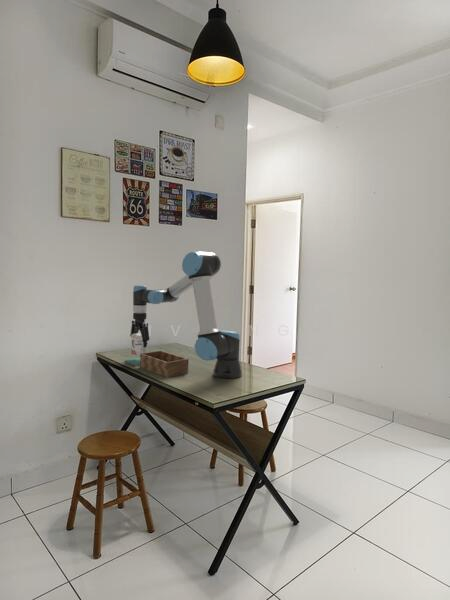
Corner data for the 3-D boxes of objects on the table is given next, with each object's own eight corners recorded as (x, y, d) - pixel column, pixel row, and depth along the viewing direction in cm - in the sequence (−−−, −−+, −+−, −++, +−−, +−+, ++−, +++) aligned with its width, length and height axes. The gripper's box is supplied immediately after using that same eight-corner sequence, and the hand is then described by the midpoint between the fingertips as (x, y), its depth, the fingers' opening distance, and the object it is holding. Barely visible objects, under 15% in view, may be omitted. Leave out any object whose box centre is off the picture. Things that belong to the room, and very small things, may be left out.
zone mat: (154, 362, 241) (154, 360, 241) (135, 365, 233) (135, 363, 233) (143, 358, 250) (143, 356, 250) (125, 361, 242) (125, 359, 242)
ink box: (130, 354, 241) (130, 333, 240) (136, 352, 245) (136, 332, 244) (142, 356, 237) (142, 335, 236) (148, 354, 241) (148, 334, 240)
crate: (188, 372, 221) (188, 358, 220) (166, 377, 211) (167, 362, 211) (160, 363, 239) (160, 350, 239) (140, 367, 230) (140, 353, 229)
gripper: (156, 314, 233) (155, 353, 235) (135, 309, 249) (135, 346, 252) (144, 314, 228) (144, 355, 230) (124, 310, 244) (124, 348, 246)
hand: (139, 350), depth 241 cm, fingers closed on ink box, 9 cm apart
